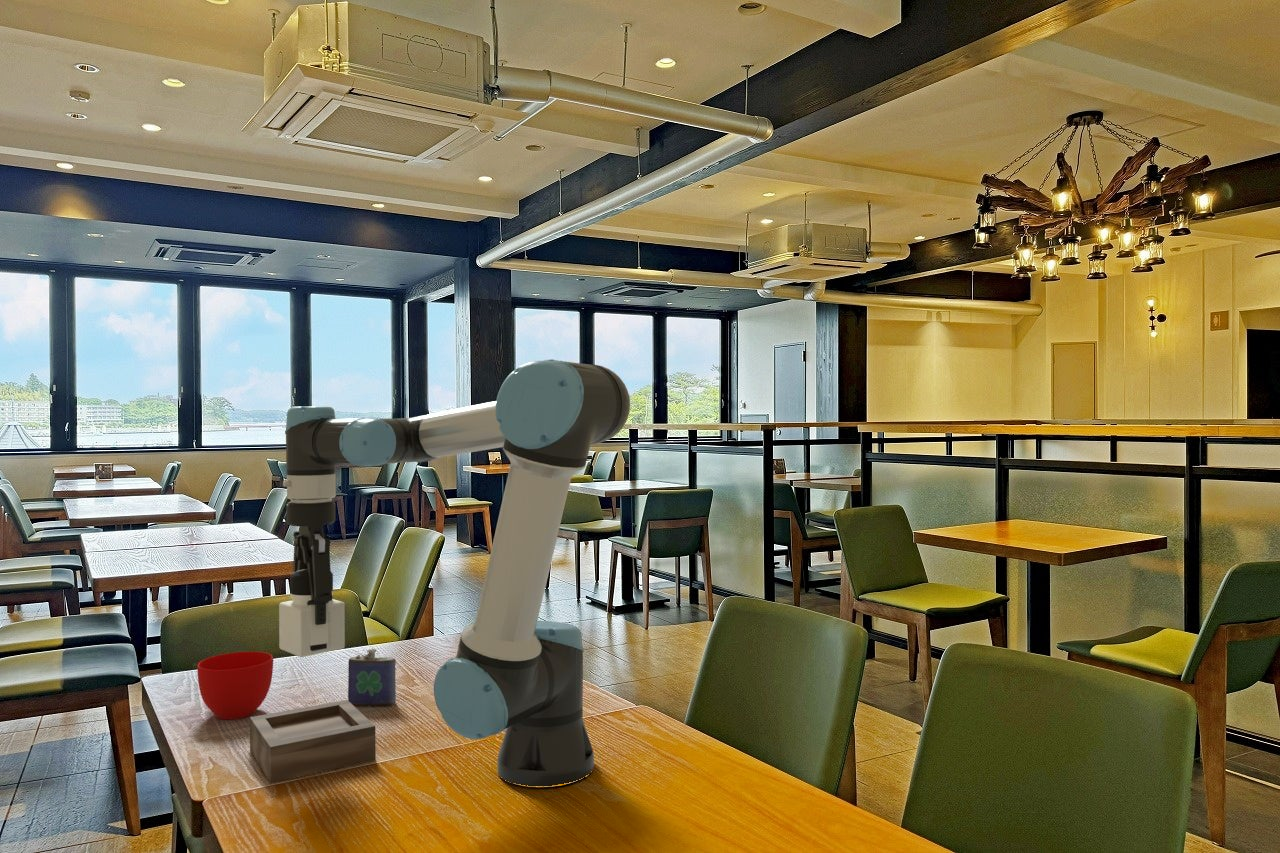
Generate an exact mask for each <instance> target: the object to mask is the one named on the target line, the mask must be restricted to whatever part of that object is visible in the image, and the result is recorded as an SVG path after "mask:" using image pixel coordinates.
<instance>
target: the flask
mask: <svg viewBox="0 0 1280 853" xmlns="http://www.w3.org/2000/svg"><path fill="white" fill-rule="evenodd" d="M376 652H377V649H375V648H372V649H367V654H365V655H364V654H357V655H356V656H352V657H349V659H348V668H347V669H348V682H347V684H348V687H347V690H348V691H347V700H348V701H349V702H350V703H351V704H352V705H353V706H354V707H364V708H365V707H371V708H372V707H389V706H394V705H396V703H397V696H396V691H397V689H396V687H397V684H396V683H397V681H396V664H397V660H396V658H395V657H394V656H389V657H382V656H381V657H377V656H376Z"/></svg>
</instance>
